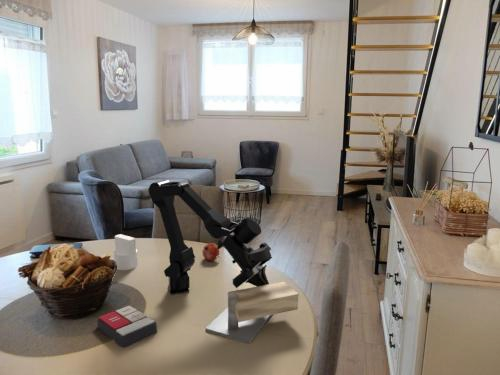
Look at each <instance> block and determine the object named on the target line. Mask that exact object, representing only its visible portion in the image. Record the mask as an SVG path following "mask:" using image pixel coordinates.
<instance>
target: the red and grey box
mask: <svg viewBox="0 0 500 375" xmlns="http://www.w3.org/2000/svg"><path fill="white" fill-rule="evenodd" d="M96 322H97V328H98V329H99V330H100V331H102V332H103V333H104V334H105V335H106V336H108V337H109V338H110V339H111V340H113V341H114V342H115V343H116V344H117V345H118V346H119V347H121V349H125V348H128V347H130V346H133V345H134V344H136V343H138V342H141V341H142V340H145V339H148V338H149V337H151V336H154V335H155V334H158V329H157V328H158V327H157V321H155V320H154V319H152V318H150V317H149V316H147V315H146V314H144V313H142V312H141V311H139V310H137V309H136V308H135V307H132V306H131V305H126V306H124V307H121V308H120V309H116V310H115V311H111V312H109V313H106V314H103V315H100V316H99V317H98V318H97V320H96Z"/></svg>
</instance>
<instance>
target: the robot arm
mask: <svg viewBox="0 0 500 375" xmlns="http://www.w3.org/2000/svg"><path fill="white" fill-rule="evenodd" d="M147 190H148V195H149V197H150V199H151V202H152V203H153V204H154V205H155V206H156V207H157V208H158V210H159V214H160V217H161V219H162V223H163V227H164V230H165V233H166V238H167V240H168V244H169V246H170V252H169V256H168V259H169V265H168V267H166V268H165V269H163V273H164V275H165V277H167V278H168V285H167V288H168V292H169V293H170V295H176V294H183V293H189V292H190V288H191V287H190V286H191V285H190V276H189V273H188V271H191V268H192V267H193V265H194V264H195V262H196V261H195V260H196V259H195V258H196V256H195V253H194V249H193V246H190V247H189V246H188V245H187V244H185V240H184V237H183V234H182V230H181V227H180V223H179V220H178V217H177V216H178V215H177V213H176V209H175V206H174V205H175V204H174V201H175V197H176V196H178V198H180V199H181V200H182V202H184V203H185V204H186V205H187V206H188V207H189V208H190V210H192V212H194V214H196V215H197V216H198V217H199V218H200V220H201V221H202V222H203V226H204V229H205V230H206V231H207V233H208V235H210V236H211V237H212V238H213V239H215V240H216V239H217V240H218V242H217V244H218V245H217V246H218V249H219V250H220V249H222V248H224V249H225V250H226V251H227V253H228V254H229V255H230V257H231V258H232V259H233V260H232V261H231V263H232V264H233V265H234V264H237V266H238V267H239V268H240V269H241V270H240V272H239V273H238V275H237V276H234V278H232V285H233V286H234V287H235V288H236V289H238V288H239V287H240V286H242V285H243V284H244V283H246V284H250V285H252V286H254V287H257V286H263V285H268V284H270V283H269V279H268V277H267V274H266V268H267V264H266V263H267V262H269V261H271V259H273V256H272V254H271V252H270V251H271V250H272V248H271V247H270V246H269V245H268V243H266V242H263V243H262V242H261V243H260V244H259V245H258V246H259V247H258V248H256V249H253V248H252V247H250V246H249V247H248V246H246V245H249V244H250V243H251V242H252V241H253V240H255V239H256V238H257V237H258V236H260V235H261V234H262V228H261V226H260V225H259V223H258V222H256V221H255V220H253V219H250V218H249V216H246V217H245V218H243V219H242V220H241V222H240V223H239V222H235V221H232V220H231V219H229V217H227V216H226V215H224V214H223V213H220V212H218V211H216V210H214V209H213V208H212V207H211V206H210V205H209V204H208V203H207V202H206V201H205V200H204V199H203V198H202V197H201V196H200V195H199V194H198V193H197V192H196V191H195V190H194V189H193V188H192V187H191V186H190V184H189V183H188V182H186V181H170V180H169V179H162V180H161V179H160V180H157V181H154V182H152V183H151V184H150V185H149V187H148V189H147ZM224 237H225V238H224Z"/></svg>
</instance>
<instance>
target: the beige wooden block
mask: <svg viewBox="0 0 500 375" xmlns="http://www.w3.org/2000/svg"><path fill="white" fill-rule="evenodd" d="M227 307H228V328H229V329H230V330H236V329H238V321H239V322H243V321H247V320H252V319H256V318H261V317H265V316H270V315H271V316H274V315H278V314H282V313H288V312H291V311H297V310H299V293H298V292H297V291H296V290H294V289H293V287H291V286H290V285H289V284H287V283H286V282H285V281H280V282H273V283H269V284H268V285H263V286H253V287H247V288H242V289H237V290H231V291H227Z"/></svg>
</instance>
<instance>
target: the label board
mask: <svg viewBox="0 0 500 375" xmlns="http://www.w3.org/2000/svg"><path fill="white" fill-rule="evenodd" d="M271 317H272V315H270V316H265V317H261V318H256V319H252V320H247V321H243V322H239V321H238V329H236V330H230V329H229V328H228V306H227V307H226V309H224V310H223V311H222V312H221V313H219V315H217V316H216V317H215V319H214V320H213V321H212V322H210V323H209V324H208V325H207V326H206V327H205V332H208V333H213V334H216V335H219V336H223V337H226V338H228V339H229V338H230V339H232V340H235V341H239V342H242V343H246V344H251V343H250V342H251V341H253V339H254V338H255V337H256V335H257V334H258V333H259V332H260V330H262V328H263V327H264V325H265V324H266V323H267V321H268V320H269V319H270V318H271Z"/></svg>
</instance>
